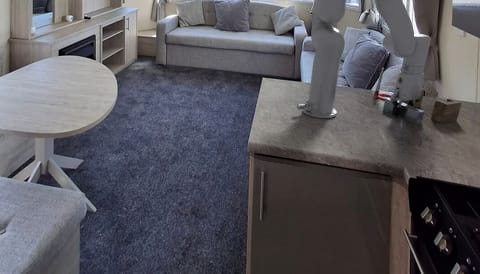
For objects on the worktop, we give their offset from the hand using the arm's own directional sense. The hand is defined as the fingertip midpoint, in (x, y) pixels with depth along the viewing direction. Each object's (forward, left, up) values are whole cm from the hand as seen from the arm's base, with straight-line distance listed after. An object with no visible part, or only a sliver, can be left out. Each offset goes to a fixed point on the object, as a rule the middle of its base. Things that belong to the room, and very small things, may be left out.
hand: (401, 114), depth 150 cm
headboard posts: (+13, 0, -1) cm, 13 cm away
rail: (0, 0, -1) cm, 1 cm away
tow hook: (+11, +20, -1) cm, 23 cm away
